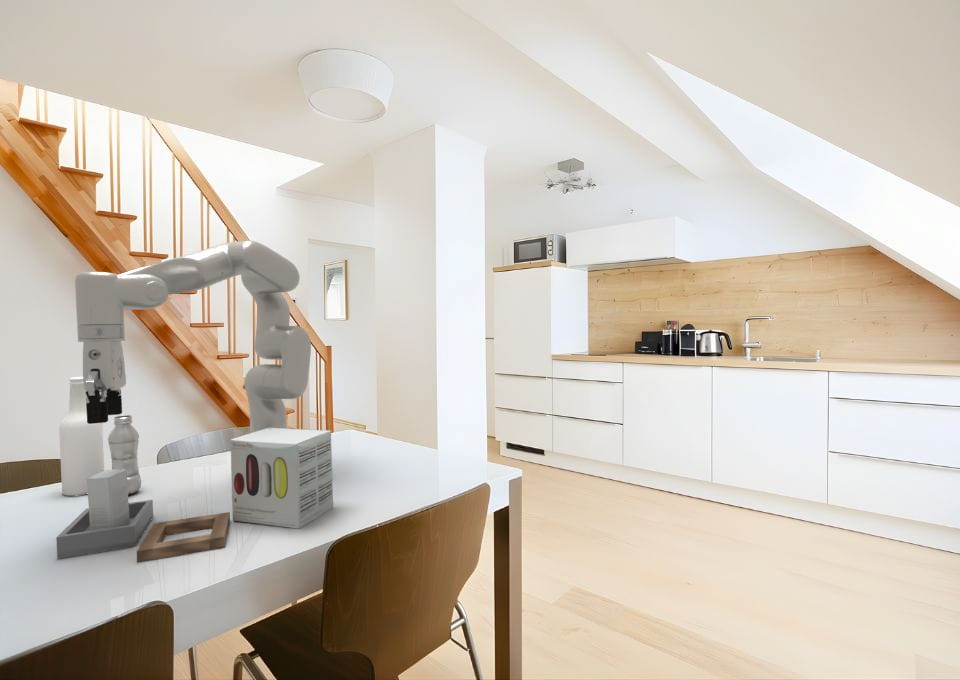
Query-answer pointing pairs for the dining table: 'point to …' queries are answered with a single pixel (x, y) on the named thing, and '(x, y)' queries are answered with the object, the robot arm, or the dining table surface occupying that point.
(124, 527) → the tray
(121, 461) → the plastic bottle
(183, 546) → the brown square frame
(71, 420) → the alcohol
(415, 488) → the dining table surface
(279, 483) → the supplement box
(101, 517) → the skincare box
